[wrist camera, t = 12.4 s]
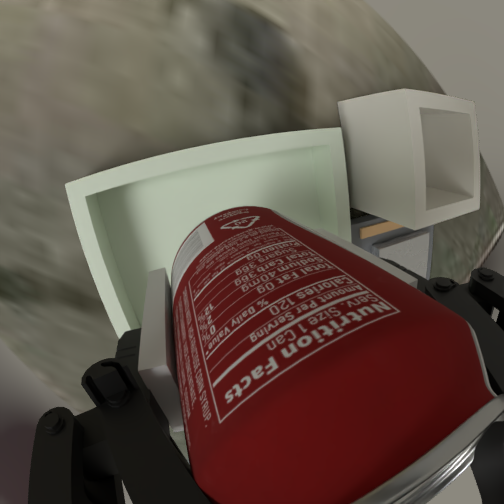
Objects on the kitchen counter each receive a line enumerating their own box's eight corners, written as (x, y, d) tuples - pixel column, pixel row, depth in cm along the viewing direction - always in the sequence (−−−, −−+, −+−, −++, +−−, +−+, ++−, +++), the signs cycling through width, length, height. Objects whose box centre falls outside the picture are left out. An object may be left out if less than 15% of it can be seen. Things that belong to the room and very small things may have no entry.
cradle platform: (371, 245, 21) (379, 249, 20) (421, 229, 22) (429, 232, 21) (370, 310, 23) (376, 315, 22) (417, 288, 24) (423, 292, 23)
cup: (337, 102, 18) (404, 88, 12) (410, 104, 20) (474, 101, 13) (349, 206, 21) (415, 230, 15) (418, 192, 23) (479, 209, 16)
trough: (80, 179, 15) (64, 184, 12) (317, 129, 18) (341, 127, 16) (135, 339, 20) (132, 364, 17) (332, 283, 23) (352, 300, 20)
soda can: (143, 292, 13) (144, 581, 2) (229, 172, 12) (550, 284, 1) (252, 350, 15) (355, 548, 4) (330, 255, 15) (528, 396, 4)
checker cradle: (339, 222, 21) (350, 226, 20) (424, 201, 23) (435, 204, 22) (343, 328, 25) (351, 336, 23) (419, 294, 27) (427, 299, 25)
